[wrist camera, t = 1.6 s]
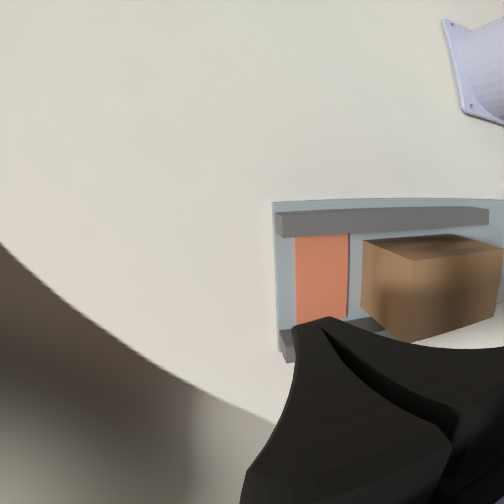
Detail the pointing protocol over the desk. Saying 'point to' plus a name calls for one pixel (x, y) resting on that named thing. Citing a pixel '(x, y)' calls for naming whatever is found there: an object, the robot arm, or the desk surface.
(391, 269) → the walnut block
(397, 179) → the desk surface
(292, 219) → the trough
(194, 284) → the desk surface
